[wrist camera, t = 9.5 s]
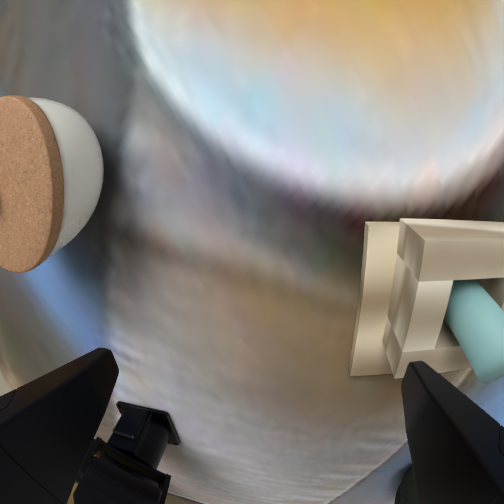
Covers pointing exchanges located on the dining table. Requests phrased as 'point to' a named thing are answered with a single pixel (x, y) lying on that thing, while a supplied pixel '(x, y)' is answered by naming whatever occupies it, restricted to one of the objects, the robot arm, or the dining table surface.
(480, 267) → the socket board
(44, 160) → the lidded jar
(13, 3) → the dining table surface
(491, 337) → the peg
